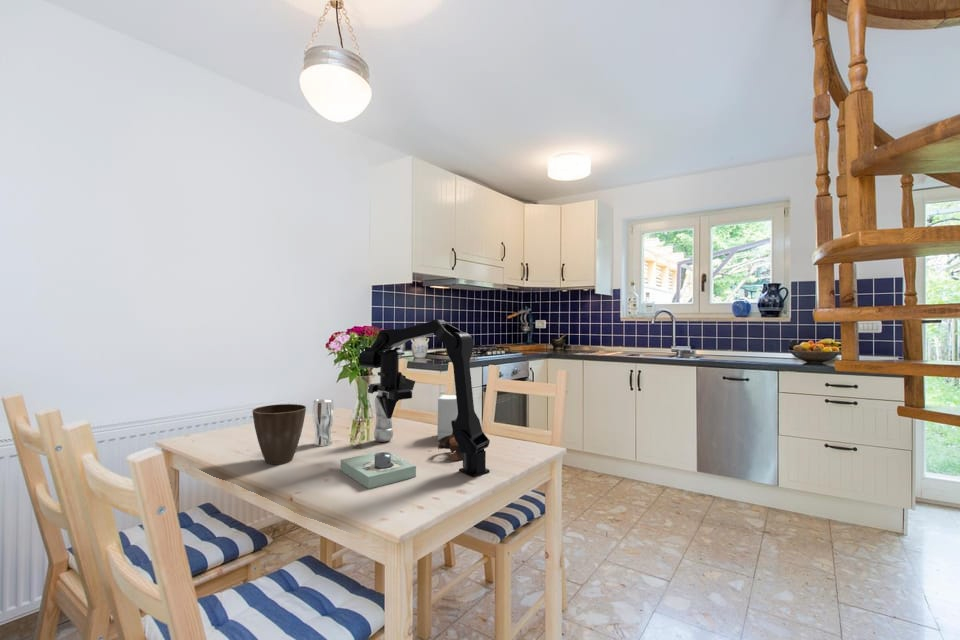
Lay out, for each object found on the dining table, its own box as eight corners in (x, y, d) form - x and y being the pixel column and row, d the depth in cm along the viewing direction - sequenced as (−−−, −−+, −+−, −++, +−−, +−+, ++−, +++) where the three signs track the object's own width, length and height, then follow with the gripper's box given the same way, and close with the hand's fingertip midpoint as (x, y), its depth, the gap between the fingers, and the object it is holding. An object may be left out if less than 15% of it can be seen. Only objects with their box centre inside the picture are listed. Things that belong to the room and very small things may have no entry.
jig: (415, 476, 121) (416, 465, 121) (368, 488, 112) (368, 477, 112) (384, 460, 135) (384, 450, 135) (340, 470, 126) (340, 459, 126)
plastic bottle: (372, 439, 158) (373, 384, 158) (391, 438, 161) (392, 383, 161) (375, 444, 152) (375, 386, 152) (394, 442, 155) (395, 385, 155)
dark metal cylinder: (393, 476, 121) (393, 455, 121) (379, 480, 118) (379, 458, 118) (386, 472, 124) (386, 451, 124) (371, 476, 121) (371, 454, 121)
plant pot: (258, 455, 139) (258, 404, 139) (308, 451, 143) (308, 402, 143) (246, 470, 125) (246, 414, 125) (302, 466, 129) (302, 412, 129)
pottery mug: (443, 464, 133) (435, 438, 136) (443, 469, 141) (435, 444, 145) (480, 452, 136) (472, 426, 139) (478, 457, 144) (470, 432, 147)
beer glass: (312, 442, 155) (313, 399, 155) (333, 440, 157) (334, 398, 157) (311, 447, 148) (311, 402, 148) (333, 445, 150) (333, 401, 150)
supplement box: (461, 441, 157) (461, 399, 157) (437, 440, 158) (437, 398, 158) (465, 434, 166) (465, 395, 166) (441, 433, 167) (441, 394, 167)
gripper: (427, 370, 137) (426, 420, 137) (397, 365, 151) (397, 410, 151) (395, 372, 130) (394, 425, 130) (367, 367, 144) (366, 414, 144)
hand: (389, 418), depth 139 cm, fingers closed
